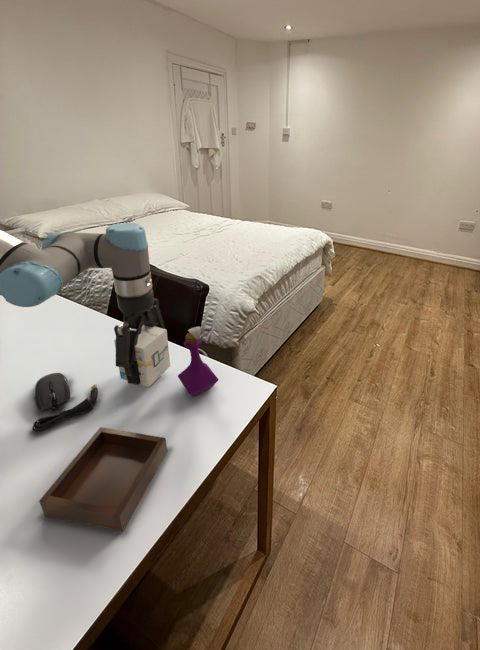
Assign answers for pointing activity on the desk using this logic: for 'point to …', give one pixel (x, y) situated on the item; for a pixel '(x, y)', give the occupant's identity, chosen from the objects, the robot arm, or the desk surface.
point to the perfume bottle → (196, 367)
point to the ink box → (150, 355)
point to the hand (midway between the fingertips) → (146, 368)
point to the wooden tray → (106, 479)
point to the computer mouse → (58, 400)
